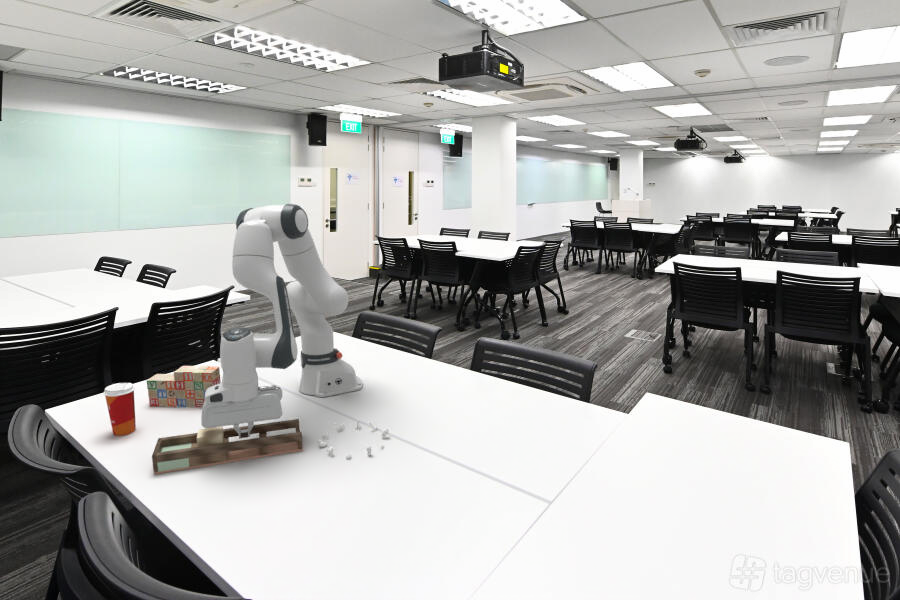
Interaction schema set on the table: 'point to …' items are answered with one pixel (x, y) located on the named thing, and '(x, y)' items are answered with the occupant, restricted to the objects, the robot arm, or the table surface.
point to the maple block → (210, 436)
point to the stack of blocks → (182, 386)
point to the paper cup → (121, 408)
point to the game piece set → (368, 448)
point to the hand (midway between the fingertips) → (244, 437)
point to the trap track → (225, 447)
